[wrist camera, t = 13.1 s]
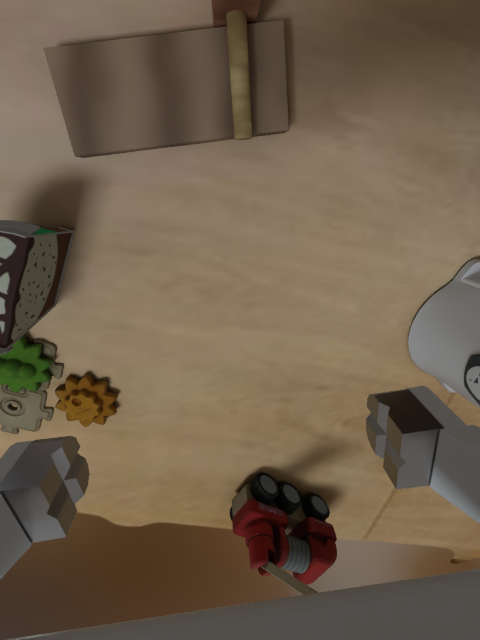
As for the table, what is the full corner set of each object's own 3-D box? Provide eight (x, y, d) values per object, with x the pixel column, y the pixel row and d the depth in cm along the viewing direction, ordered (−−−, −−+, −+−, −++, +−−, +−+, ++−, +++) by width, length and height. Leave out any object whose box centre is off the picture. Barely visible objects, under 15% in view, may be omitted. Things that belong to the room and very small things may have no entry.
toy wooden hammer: (250, -30, 27) (259, -84, 21) (258, 141, 32) (266, 133, 26) (209, -28, 27) (207, -82, 21) (223, 143, 32) (224, 136, 26)
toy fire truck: (299, 528, 56) (332, 667, 40) (224, 499, 52) (227, 642, 36) (340, 487, 53) (394, 622, 37) (263, 453, 49) (286, 589, 33)
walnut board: (279, 30, 28) (284, 19, 27) (284, 132, 32) (289, 129, 30) (54, 56, 28) (43, 47, 26) (83, 157, 31) (74, 156, 29)
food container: (16, 190, 32) (-64, 194, 23) (78, 216, 34) (26, 230, 24) (-4, 297, 36) (-78, 336, 27) (52, 316, 38) (0, 360, 29)
